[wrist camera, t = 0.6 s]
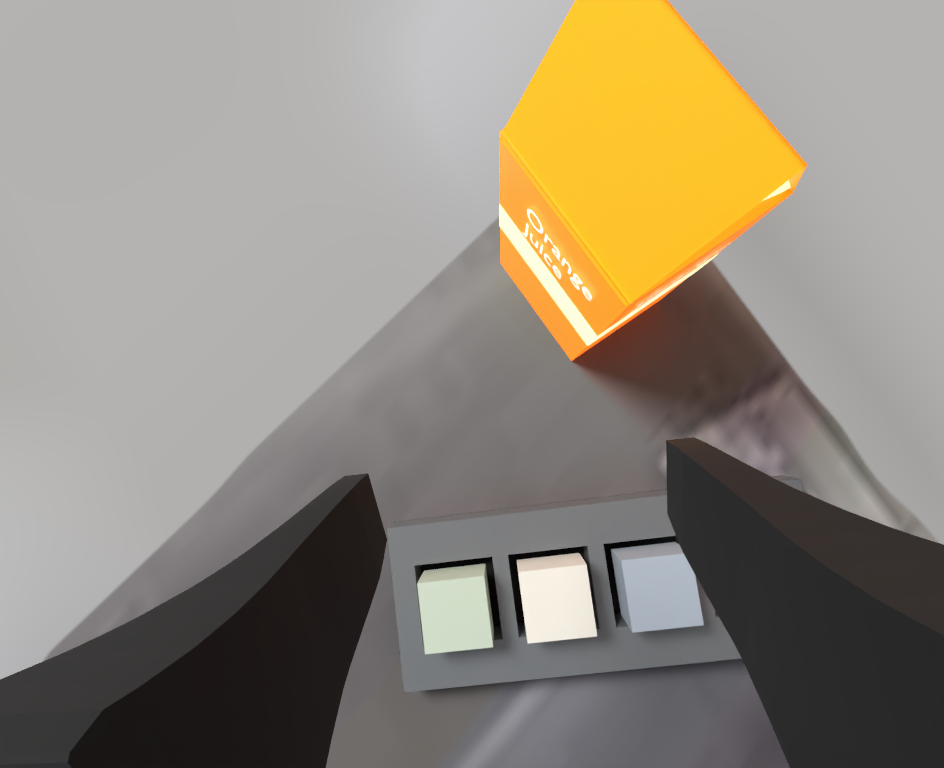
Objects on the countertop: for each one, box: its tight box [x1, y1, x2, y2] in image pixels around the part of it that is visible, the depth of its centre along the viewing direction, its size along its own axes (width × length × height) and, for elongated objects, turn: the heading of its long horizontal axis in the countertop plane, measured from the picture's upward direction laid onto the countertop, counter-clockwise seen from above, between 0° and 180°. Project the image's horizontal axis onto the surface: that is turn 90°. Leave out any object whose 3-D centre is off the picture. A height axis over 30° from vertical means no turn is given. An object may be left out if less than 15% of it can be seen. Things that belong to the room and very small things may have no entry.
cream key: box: [517, 553, 597, 644], centre depth 28 cm, size 4×4×2 cm
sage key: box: [417, 563, 494, 654], centre depth 28 cm, size 4×4×2 cm
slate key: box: [611, 542, 704, 633], centre depth 27 cm, size 4×4×2 cm
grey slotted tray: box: [387, 476, 804, 692], centre depth 29 cm, size 10×26×2 cm, turn 97°
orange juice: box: [499, 0, 807, 361], centre depth 22 cm, size 8×9×20 cm
